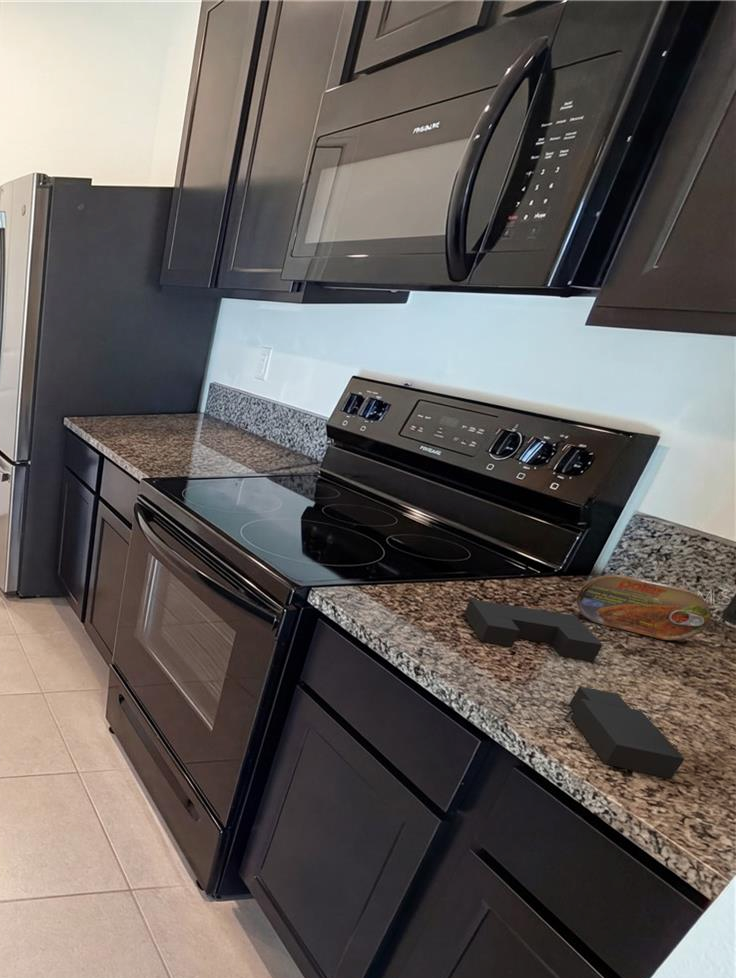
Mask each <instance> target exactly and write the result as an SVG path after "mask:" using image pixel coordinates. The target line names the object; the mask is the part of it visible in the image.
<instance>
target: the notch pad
mask: <svg viewBox="0 0 736 978" xmlns="http://www.w3.org/2000/svg"><path fill="white" fill-rule="evenodd" d="M463 616H464V617H465V619H466V620H467V622H468V624H469V625H470V627H471V628H472V630H473V631H474V633H475V635H476V636H477V637H478V640H479V641H480V642H482V643H488V644H493V645H498V646H505V647H510V648H513V645H514V643H515V641H516V640H517V639H523V640H528V641H533V642H539V643H545V644H549V645H551V647H552V648H553V649H554V650H555V651H556V652H557V654H558V655H559V656H561V657H565V658H570V659H575V660H581V661H586V662H587V661H588V662H594V661H595V659H596V657H597V656H598V654H599V652H600V651H601V650H602V647H603V643H602V642H601V641H600V640H599V639H598V638H597V637H596V636H595V635H594V634H593V633H592V632H591V631H590V630H589V629H588V627H586V626H585V624H584V623H582V621H581V620H580V619H579V618H578V617H577V616H576V615H573V614H566V613H560V612H554V611H548V610H542V609H537V608H529V607H524V606H517V605H510V604H505V603H498V602H492V601H486V600H479V599H474V598H470V599H469V601H468V604H467V606H466V608H465V610H464V613H463Z"/></svg>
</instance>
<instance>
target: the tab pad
mask: <svg viewBox="0 0 736 978" xmlns="http://www.w3.org/2000/svg"><path fill="white" fill-rule="evenodd" d="M568 704H569V706H570V708H571V709H572V711H573V712H572V713H571V715H570V719H571V720H572V722H573V723H574V724H575V725H576V727H577V728H578V730H579V731H580V732H581V734H582V735H583V736H584V738H585V740H587V742H588V743H589V745H590V747H591V748H592V749H593V750H594V752H595V753H596V755H597V756H598V757H599V758H600V760H601V761H602V762H603V764H604V765H607V766H611V767H616V768H619V769H623V770H624V769H625V770H630V771H634V772H637V773H642V774H647V775H651V776H656V777H661V778H664V779H669V780H670V779H672V778H673V777H674V775H675V774H676V772H677V771H678V770H679V768H680V767H681V766H682V764H683V762H685V757H684V756H683V755H682V753H680V751H678V749H677V748H676V747H675V746H674V745H673V743H671V741H670V740H669V739H667V737H666V736H665V735H664V734H663V733H662V732H661V731H660V730H659V728H657V727H656V725H655V724H654V723H653V722H652V721H651V719H650V718H648V717H647V716H646V714H645V713H644V712H643V711H642V710H641V709H636V708H631V707H630V706H629V705H628V704H627V702H626V701H625V700H624V699H623V698H622V696H620V695H619V693H617V692H616V693H615V692H612V691H606V690H601V689H596V688H591V687H585V686H581V685H580V686H578V688H577V690H576V691H575V693H574V695H573V697H572V698H571V700H570V702H569V703H568Z"/></svg>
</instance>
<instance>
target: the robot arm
mask: <svg viewBox="0 0 736 978" xmlns="http://www.w3.org/2000/svg"><path fill="white" fill-rule="evenodd" d="M733 581H734V583H733V585H734V586H736V578H734V580H733ZM721 620H723V621H724V622H726V623H729V624H730V623H731V624H733V625H736V593H735V594H734V595H733V597H732V599H731V600H730V601H729V602H728V604H727V606H726V608H725V609H724V611H723V613H721Z"/></svg>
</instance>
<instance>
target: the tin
mask: <svg viewBox="0 0 736 978" xmlns="http://www.w3.org/2000/svg"><path fill="white" fill-rule="evenodd" d="M576 607H577V610H578V611H579V612H580V614H581V615H582V616H584V618H586V619H587V620H589V621H591V622H593V623H594V624H598V625H602V626H606V627H611V628H615V629H619V630H623V631H626V632H630V633H634V634H639V635H642V636H646V637H649V638H653V639H658V640H663V641H680V640H686V639H689V638H692V637H694V636H697V635H698V634H700V633H702V632H703V631H704V630H706V628H707V627H708V626H709V624H710V623H711V618H712V611H711V607H710V606H709V604H708V603H707V602H706V600H705V599H704V598H703V597H702V596H700V595H699V594H698V593H697V592H695V591H692V590H690V589H687V588H685V587H684V588H683V587H678V586H674V585H669V584H664V583H659V582H655V581H650V580H646V579H641V578H637V577H631V576H627V575H623V574H604V575H599V576H597V577H594V578H591V579H590V580H588V581H587V582H585V583H584V584H583V585H582V586H581V588H580V589H579V590H578V593H577V595H576Z"/></svg>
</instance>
